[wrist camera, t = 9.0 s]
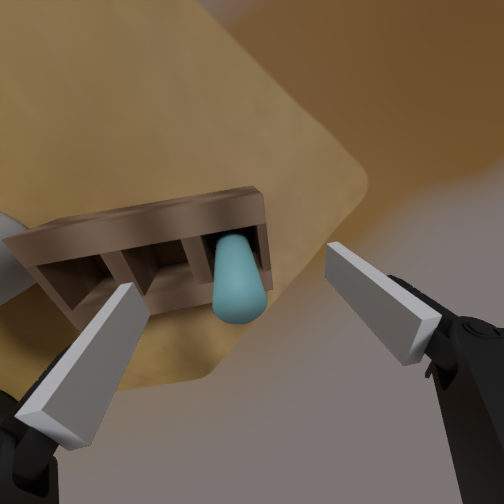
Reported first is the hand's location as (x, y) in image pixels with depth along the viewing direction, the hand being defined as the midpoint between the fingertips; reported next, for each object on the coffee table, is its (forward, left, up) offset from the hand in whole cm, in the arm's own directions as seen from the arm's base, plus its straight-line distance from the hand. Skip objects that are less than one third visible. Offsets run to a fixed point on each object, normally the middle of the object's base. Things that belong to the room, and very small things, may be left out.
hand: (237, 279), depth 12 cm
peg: (0, 0, -9) cm, 9 cm away
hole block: (-6, 0, -9) cm, 10 cm away
